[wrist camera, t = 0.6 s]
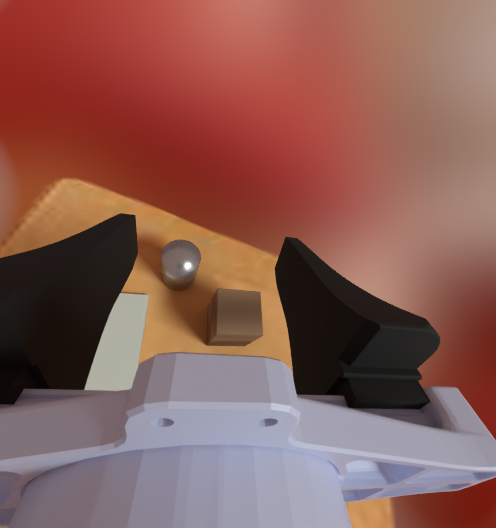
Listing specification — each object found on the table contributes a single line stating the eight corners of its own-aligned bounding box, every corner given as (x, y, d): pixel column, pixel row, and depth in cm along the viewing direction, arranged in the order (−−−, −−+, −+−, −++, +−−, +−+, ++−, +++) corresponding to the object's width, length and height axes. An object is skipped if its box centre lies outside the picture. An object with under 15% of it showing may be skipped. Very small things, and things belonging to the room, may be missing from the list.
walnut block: (244, 346, 29) (263, 335, 24) (206, 345, 28) (216, 334, 23) (243, 308, 31) (260, 291, 26) (207, 306, 30) (217, 288, 25)
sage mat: (115, 509, 20) (114, 511, 19) (-46, 534, 17) (-51, 537, 17) (149, 296, 28) (148, 294, 28) (44, 289, 25) (42, 287, 25)
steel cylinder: (194, 291, 30) (199, 274, 26) (159, 289, 29) (159, 270, 25) (196, 262, 32) (201, 242, 28) (163, 259, 31) (164, 237, 27)
